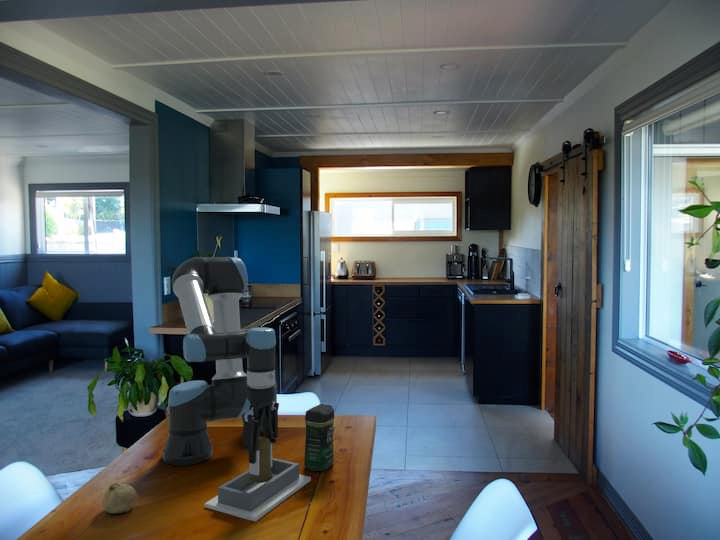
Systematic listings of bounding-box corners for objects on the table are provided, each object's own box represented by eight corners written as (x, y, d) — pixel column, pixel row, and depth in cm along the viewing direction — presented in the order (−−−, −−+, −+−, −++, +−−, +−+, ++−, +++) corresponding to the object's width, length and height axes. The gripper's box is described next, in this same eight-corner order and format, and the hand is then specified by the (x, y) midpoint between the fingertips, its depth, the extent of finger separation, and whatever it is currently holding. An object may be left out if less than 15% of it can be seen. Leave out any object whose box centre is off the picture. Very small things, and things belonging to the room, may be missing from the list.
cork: (276, 475, 145) (276, 436, 145) (263, 484, 140) (263, 443, 139) (258, 471, 148) (258, 433, 147) (245, 480, 142) (245, 440, 142)
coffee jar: (323, 474, 157) (324, 412, 156) (300, 469, 160) (300, 409, 159) (337, 462, 165) (338, 403, 165) (315, 458, 169) (315, 400, 168)
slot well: (255, 521, 129) (255, 501, 129) (204, 507, 136) (204, 487, 136) (310, 480, 152) (310, 463, 152) (265, 469, 159) (265, 453, 159)
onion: (123, 500, 139) (123, 473, 139) (143, 507, 135) (143, 480, 135) (95, 512, 132) (95, 485, 132) (115, 521, 128) (115, 492, 128)
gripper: (251, 395, 133) (251, 486, 134) (291, 379, 149) (291, 460, 150) (228, 391, 136) (227, 480, 137) (269, 376, 153) (269, 456, 154)
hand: (261, 469), depth 144 cm, fingers closed on cork, 5 cm apart
